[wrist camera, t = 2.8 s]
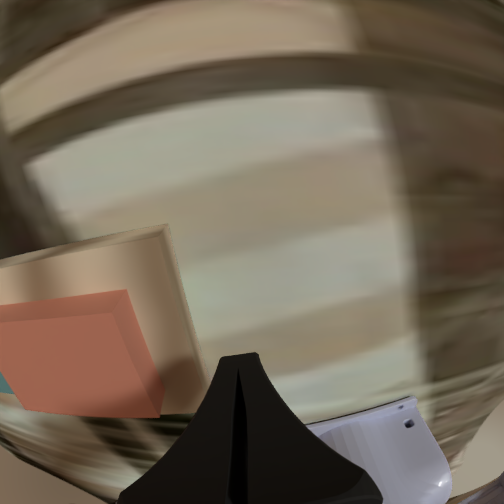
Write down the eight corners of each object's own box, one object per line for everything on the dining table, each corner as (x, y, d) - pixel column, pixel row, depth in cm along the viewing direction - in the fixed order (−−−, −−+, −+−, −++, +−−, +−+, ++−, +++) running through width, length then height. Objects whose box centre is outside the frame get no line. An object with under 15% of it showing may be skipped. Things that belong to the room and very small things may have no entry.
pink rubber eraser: (126, 288, 13) (111, 312, 11) (165, 389, 15) (159, 417, 13) (-6, 305, 12) (-26, 323, 11) (37, 388, 15) (25, 409, 13)
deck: (167, 223, 14) (158, 236, 12) (211, 387, 17) (211, 411, 15) (-18, 264, 14) (-37, 277, 12) (42, 390, 17) (32, 407, 15)
